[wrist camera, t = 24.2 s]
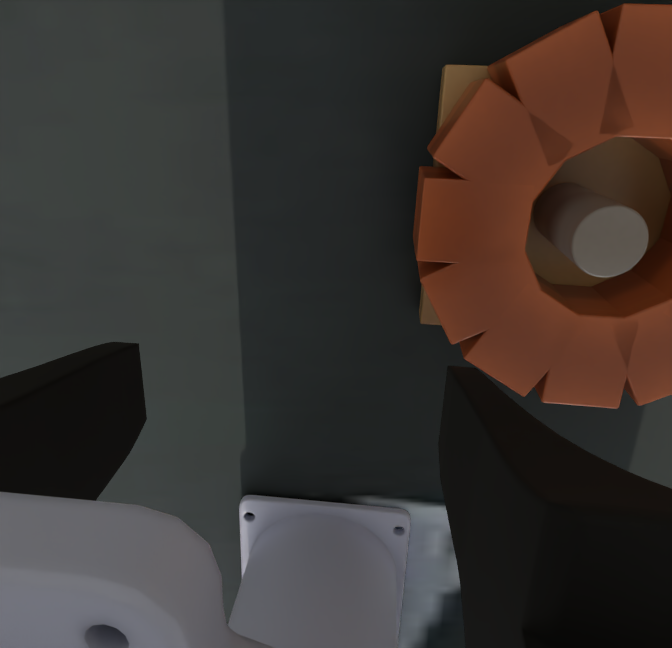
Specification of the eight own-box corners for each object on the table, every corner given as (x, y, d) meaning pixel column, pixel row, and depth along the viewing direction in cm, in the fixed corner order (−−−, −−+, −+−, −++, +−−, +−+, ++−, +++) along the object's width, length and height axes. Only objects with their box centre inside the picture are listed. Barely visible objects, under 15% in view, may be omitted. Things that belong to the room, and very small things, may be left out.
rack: (652, 328, 22) (735, 401, 16) (418, 313, 22) (426, 379, 17) (719, 75, 18) (851, 64, 13) (442, 66, 19) (460, 52, 14)
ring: (712, 376, 21) (765, 422, 18) (401, 352, 22) (402, 392, 19) (827, 28, 17) (922, 11, 14) (433, 14, 17) (441, -3, 14)
